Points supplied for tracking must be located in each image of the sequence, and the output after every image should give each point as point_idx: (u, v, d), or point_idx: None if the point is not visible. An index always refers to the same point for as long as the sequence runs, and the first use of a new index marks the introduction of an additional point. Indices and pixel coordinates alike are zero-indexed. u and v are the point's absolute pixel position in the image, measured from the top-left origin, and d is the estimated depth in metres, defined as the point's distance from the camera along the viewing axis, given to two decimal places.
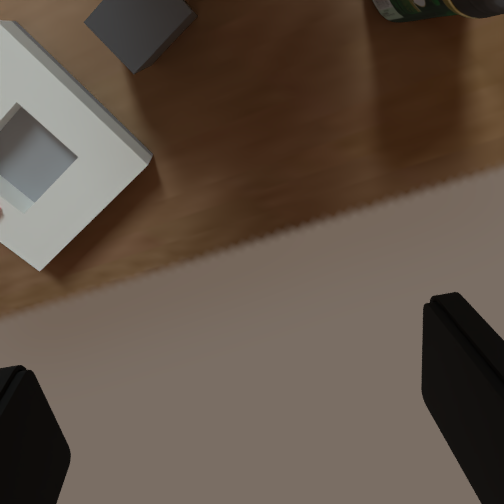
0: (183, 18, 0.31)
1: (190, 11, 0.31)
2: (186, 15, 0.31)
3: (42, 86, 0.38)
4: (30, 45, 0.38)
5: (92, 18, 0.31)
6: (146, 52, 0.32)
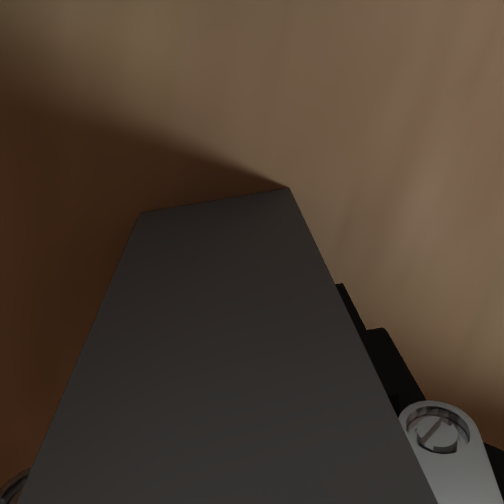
0: None
1: None
2: None
3: None
4: None
5: None
6: None
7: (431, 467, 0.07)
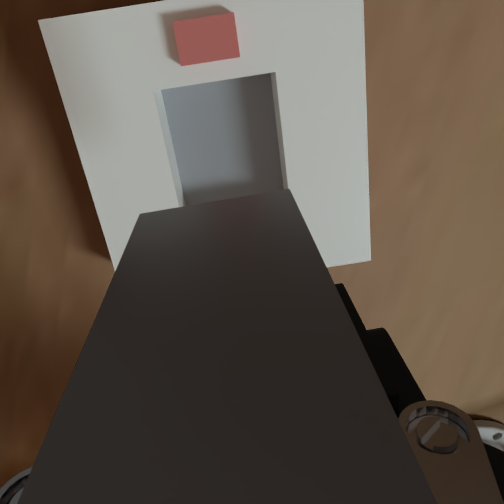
0: None
1: None
2: None
3: None
4: None
5: None
6: None
7: (430, 467, 0.07)
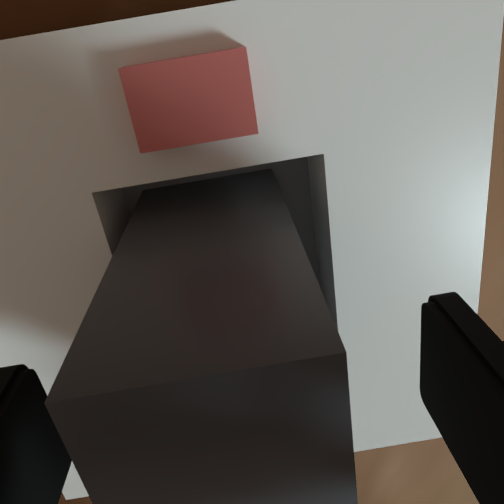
0: None
1: None
2: None
3: None
4: None
5: (333, 387, 0.07)
6: (103, 477, 0.07)
7: None
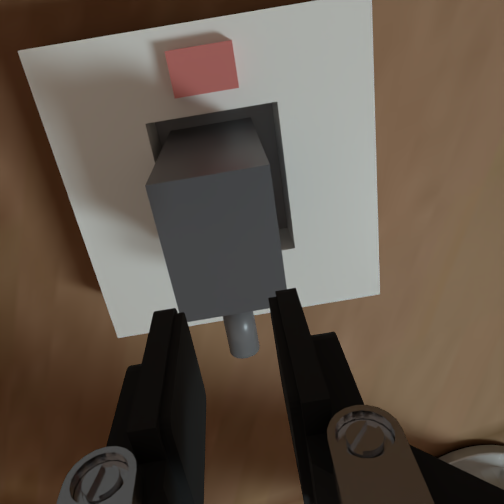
0: (180, 307, 0.18)
1: None
2: None
3: None
4: None
5: (265, 182, 0.16)
6: (166, 228, 0.17)
7: (362, 473, 0.07)
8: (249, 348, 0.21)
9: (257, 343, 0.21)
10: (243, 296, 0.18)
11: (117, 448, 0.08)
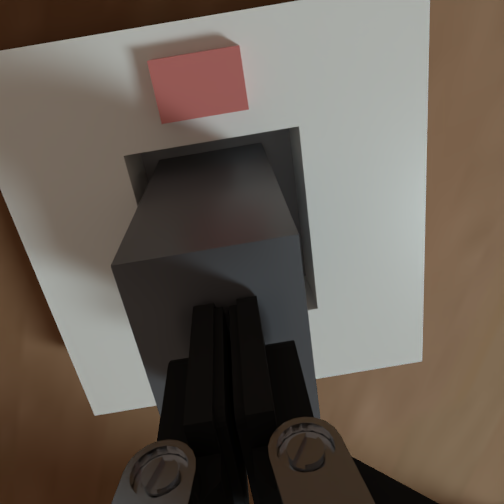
0: None
1: None
2: None
3: None
4: None
5: (291, 259, 0.11)
6: (144, 323, 0.11)
7: (306, 488, 0.07)
8: None
9: None
10: None
11: (173, 441, 0.08)
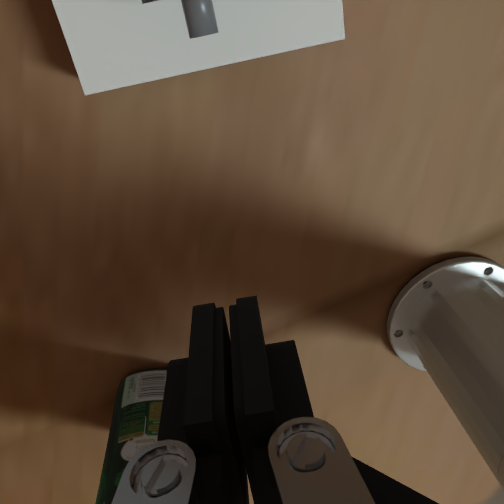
0: None
1: None
2: None
3: (252, 32, 0.26)
4: None
5: None
6: None
7: (306, 488, 0.07)
8: (206, 24, 0.21)
9: (215, 23, 0.21)
10: None
11: (173, 442, 0.08)
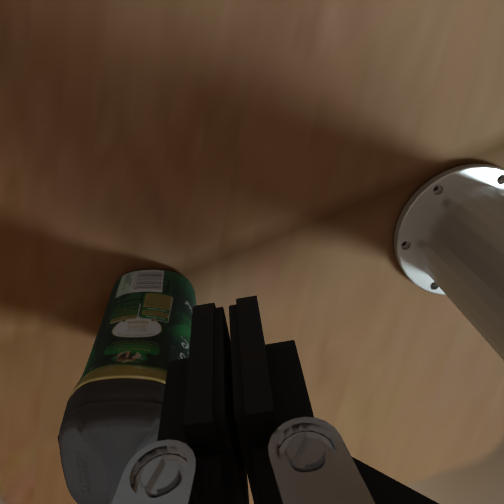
0: None
1: None
2: None
3: None
4: None
5: None
6: None
7: (306, 488, 0.07)
8: None
9: None
10: None
11: (173, 441, 0.08)
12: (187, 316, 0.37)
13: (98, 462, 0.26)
